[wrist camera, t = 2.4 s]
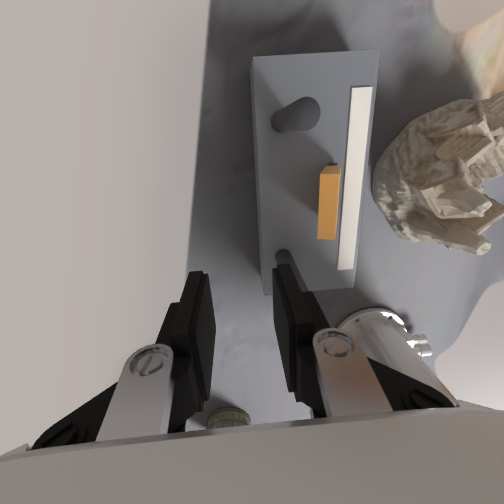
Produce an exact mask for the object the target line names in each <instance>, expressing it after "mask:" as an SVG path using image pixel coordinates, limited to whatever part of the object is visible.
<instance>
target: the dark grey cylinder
mask: <svg viewBox="0 0 504 504" xmlns="http://www.w3.org/2000/svg"><path fill="white" fill-rule="evenodd" d="M275 259H276V262H277V264H290V266H291V268H292V270H293V273H294V275H295V277H296V280H297V282H298V284H299V287H300V289H301V291H302V292H303V291H309V290H308V288H307V286H306V284H305V282H304V280H303V278H302V276H301V273H300V271H299V269H298V267H297V265H296V263H295V261H294V259H293V257H292V255H291V253H290V251H289V250H287V249H281V250H279V251H277V253H276V255H275Z"/></svg>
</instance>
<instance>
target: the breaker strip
mask: <svg viewBox="0 0 504 504" xmlns="http://www.w3.org/2000/svg"><path fill="white" fill-rule="evenodd" d="M380 52H381V49H377V50H360V51H343V52H325V53H308V54H291V55H273V56H256V57H253V58H252V62H251V67H250V86H251V105H252V123H253V141H254V160H255V178H256V196H257V215H258V233H259V252H260V270H261V279H262V284H263V290H264V295H273V284H272V268H276V266H277V262H276V259H275V255H276V253H277V251H279V250H281V249H287V250H289V251H290V253H291V255H292V257H293V259H294V261H295V263H296V265H297V267H298V269H299V271H300V273H301V276H302V278H303V280H304V282H305V284H306V286H307V288H308V290H309V291H322V290H334V289H345V288H354V283H355V274H356V265H357V257H358V248H359V239H360V230H361V221H362V212H363V203H364V194H365V186H366V177H367V168H368V159H369V150H370V141H371V132H372V123H373V115H374V106H375V97H376V88H377V79H378V70H379V61H380ZM302 97H312V98H314V99H315V100H316V101H317V102H318V104H319V106H320V111H321V113H320V118H319V121H318V123H317V124H316V125H315V126H314V127H313V128H312V129H310V130H306V131H293V132H277V131H275V130H274V129H273V128H272V125H271V118H272V116H273V114H274V113H275V112H277V111H278V110H280V109H282V108H284V107H286V106H287V105H289V104H291V103H293V102H294V101H296V100H298V99H300V98H302ZM330 163H338V164H337V165H341V176H340V190H339V203H338V217H337V226H336V234H335V240H327V239H317V235H318V211H319V188H320V173H321V172H322V170H323V169H324V167H325V166H330Z"/></svg>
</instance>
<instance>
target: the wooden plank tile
mask: <svg viewBox="0 0 504 504" xmlns="http://www.w3.org/2000/svg"><path fill="white" fill-rule="evenodd" d="M337 164H338V163H330V166H325V167H324V169H323V170H322V172H321V173H320V188H319V211H318V235H317V239H327V240H335V234H336V226H337V217H338V203H339V190H340V176H341V165H337Z"/></svg>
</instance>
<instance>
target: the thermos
mask: <svg viewBox="0 0 504 504" xmlns="http://www.w3.org/2000/svg"><path fill="white" fill-rule="evenodd" d="M250 423H251V420H250V417H249V415H248V414H247V413H246V412H245V411H243V410H241V409H238V408H234V407H226V408H222V409H219V410H217V411H215V412H213V413H212V414H211V415H210V416H209V418H208V422H207V429H216V428H226V427H236V426H245V425H250Z"/></svg>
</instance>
